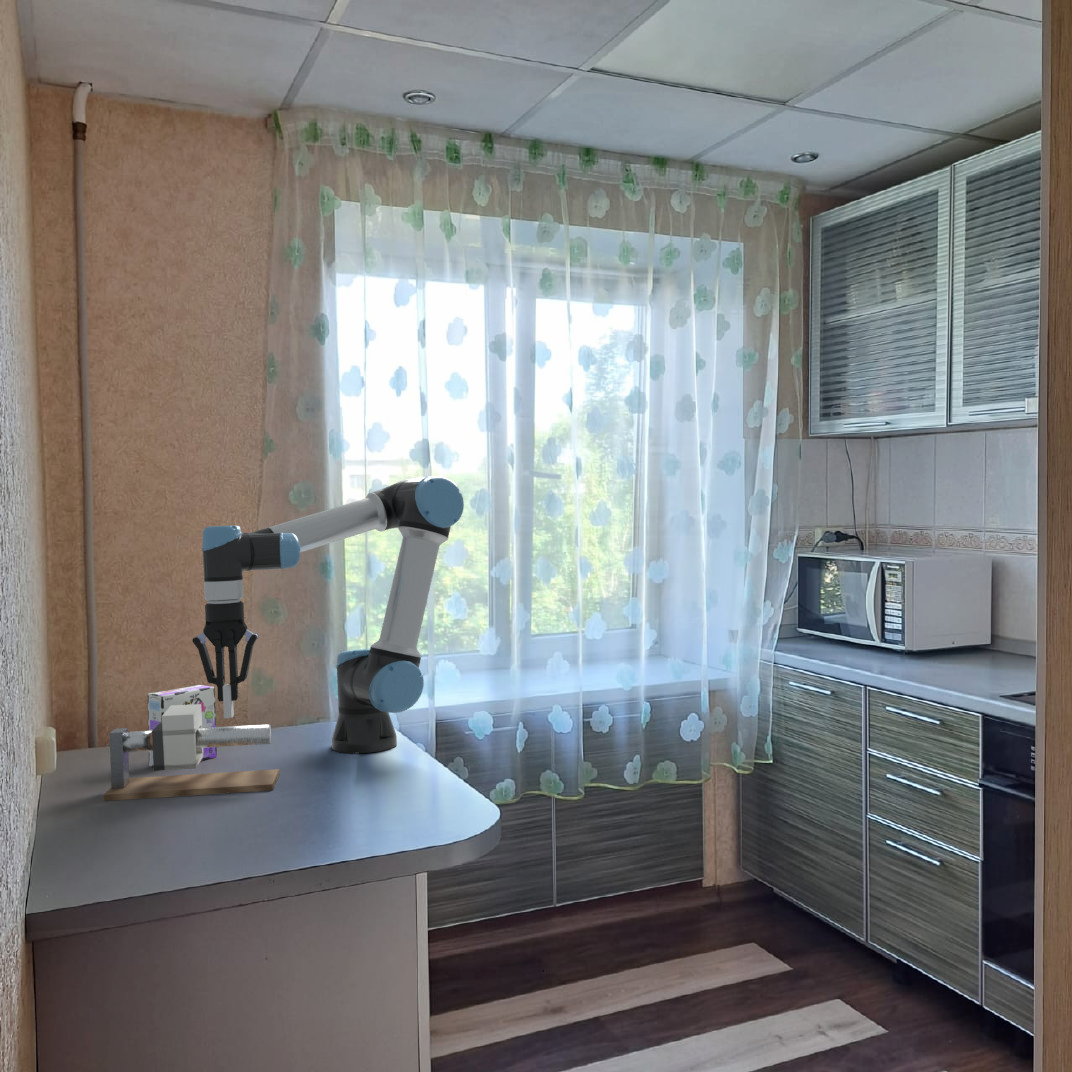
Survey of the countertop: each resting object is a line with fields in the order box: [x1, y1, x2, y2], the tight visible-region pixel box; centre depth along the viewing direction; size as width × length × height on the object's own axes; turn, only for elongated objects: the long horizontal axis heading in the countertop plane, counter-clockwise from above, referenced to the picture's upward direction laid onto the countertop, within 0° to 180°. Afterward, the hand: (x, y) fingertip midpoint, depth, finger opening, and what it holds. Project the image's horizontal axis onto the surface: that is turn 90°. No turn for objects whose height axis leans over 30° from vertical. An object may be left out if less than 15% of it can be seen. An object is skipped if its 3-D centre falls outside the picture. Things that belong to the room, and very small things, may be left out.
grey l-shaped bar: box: [109, 723, 272, 789], centre depth 197 cm, size 31×4×11 cm, turn 98°
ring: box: [152, 721, 166, 772], centre depth 197 cm, size 2×8×8 cm, turn 8°
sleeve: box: [162, 704, 204, 771], centre depth 197 cm, size 6×8×11 cm
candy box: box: [147, 684, 218, 768], centre depth 219 cm, size 14×6×16 cm, turn 143°
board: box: [102, 768, 280, 802], centre depth 198 cm, size 32×12×1 cm, turn 98°
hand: (228, 716), depth 199 cm, fingers closed
